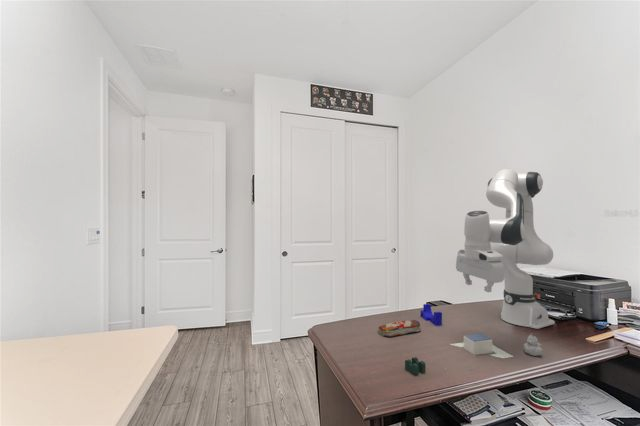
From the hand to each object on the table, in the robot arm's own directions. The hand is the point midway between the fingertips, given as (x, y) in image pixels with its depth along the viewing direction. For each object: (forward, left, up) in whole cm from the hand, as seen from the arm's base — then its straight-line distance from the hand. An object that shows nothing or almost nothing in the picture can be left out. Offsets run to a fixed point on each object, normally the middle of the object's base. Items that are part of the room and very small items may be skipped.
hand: (477, 287), depth 106 cm
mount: (+35, +13, -23) cm, 44 cm away
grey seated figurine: (-14, +10, -23) cm, 29 cm away
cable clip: (+3, -25, -23) cm, 34 cm away
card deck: (+4, +4, -22) cm, 23 cm away
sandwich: (+24, -16, -23) cm, 37 cm away
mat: (+4, +5, -22) cm, 23 cm away
